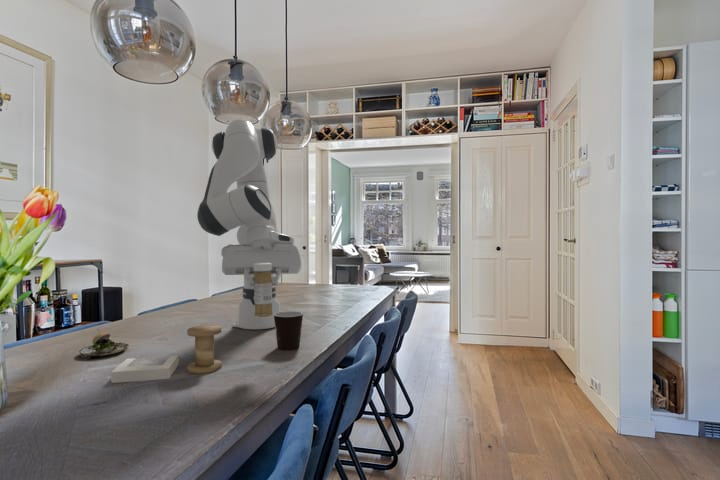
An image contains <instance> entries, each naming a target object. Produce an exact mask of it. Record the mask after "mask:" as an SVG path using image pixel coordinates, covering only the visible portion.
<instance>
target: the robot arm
mask: <svg viewBox="0 0 720 480" xmlns="http://www.w3.org/2000/svg"><path fill="white" fill-rule="evenodd" d="M211 149H212V152H213V154H214V157H215V158H216V162H215V164H214V165H213V166H212V168H211V170H210V172H209V177H208V180H207V184H206V188H205V192H204V197H203V199H202V201H201V202H200V204H199V206H198V210H197V217H196V218H197V221H198V224H199V226H200V228H202V229H203V231H205V232H206V233H208V234H211V235H212V236H213V235H214V236H218V237H220V236H223V235H225V234H226V233H228V232H230V231H231V230H234V229H236V228H238V229H237V232H236V239H237V242H238V244H227V245H226V246H224V247H222V248H221V253H220V254H221V256H222V262H221V272H222V273H223V274H224V275H225V276H241V275H242V276H243V288H242V292H241V293H242V300H241V302H239V303H238V313H237V315H238V316H237V317H238V318H237V320H236V321H235V322H234V323H233V324H232V327H234V328H240V329H243V330H266V329H272V328H275V321H274V314H275V313H278V312H281V309H280V307H281V304H280V301H279V300H277V298H276V296H277V289H276V288H277V287H278V284H279V279H280V278H281V276H282V275H288V274H290V275H292V274H293V275H294V274H299V273H300V271H301V270H302V258H301V254H300V251H299V248H298V247H297V246H296V245H295V237H293V236H291V235H288V234H287V235H286V234H283V233H279V230H278V229H277V227H278V226H277V219H276V213H275V210H274V208H273V205H272V203H271V199H270V191H269V184H268V177H267V173H266V170H265V165H264V162H263V160H266V164H268V163H269V160H271V159H273V158H274V157H275V155H276V153H277V150H278V139H277V137H276V135H275V133H274V131H273V130H272V129H271V128H267V127H260V128H255V127H254V125H253V124H252V123H251V122H250V121H248V120H245V119H235V120H232V121H231V122H230V123H229V124H228V125H227V128H226V129H225V131H220V132H217V133H215V135H214V136H213V137H212V141H211ZM235 182H236V187H237V188H234V189H232V190H230V191H228V190H229V188H230V187H231V186H232V185H233V184H234V183H235ZM262 262H268V263H271V264H272V270H271V271H272V272H271V280H272V312H273V314H272V315H271V316H268V317H257V316H255V299H254V284H255V281H254V271H253V264H254V263H262Z"/></svg>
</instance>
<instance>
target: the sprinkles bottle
mask: <svg viewBox="0 0 720 480" xmlns="http://www.w3.org/2000/svg"><path fill="white" fill-rule="evenodd" d="M271 270H272V264H271V263H268V262H262V263H254V264H253V271H254V281H255V284H254V299H255V316H257V317H268V316H271V315H272V314H273V312H272V280H271V272H272V271H271Z"/></svg>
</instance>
